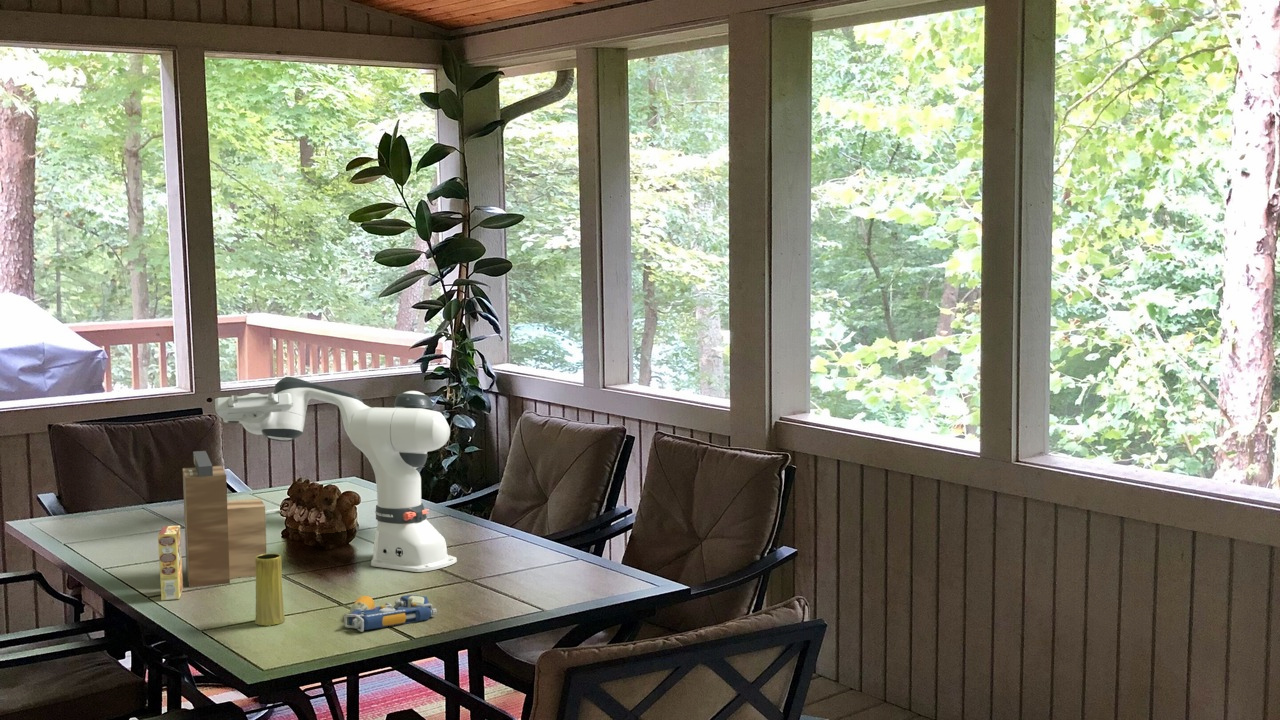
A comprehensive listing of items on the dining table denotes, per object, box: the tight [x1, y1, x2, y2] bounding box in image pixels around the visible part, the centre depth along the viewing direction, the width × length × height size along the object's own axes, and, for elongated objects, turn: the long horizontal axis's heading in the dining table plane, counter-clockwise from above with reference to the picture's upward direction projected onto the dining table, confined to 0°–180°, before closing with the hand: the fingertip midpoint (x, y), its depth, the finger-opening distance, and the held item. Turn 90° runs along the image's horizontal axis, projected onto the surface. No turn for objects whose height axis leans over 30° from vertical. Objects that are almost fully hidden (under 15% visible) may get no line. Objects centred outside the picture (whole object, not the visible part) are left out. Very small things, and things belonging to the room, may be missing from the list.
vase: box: [254, 552, 286, 627], centre depth 258 cm, size 6×6×14 cm
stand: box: [182, 465, 268, 588], centre depth 295 cm, size 14×18×26 cm
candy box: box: [157, 525, 184, 601], centre depth 278 cm, size 9×4×15 cm, turn 16°
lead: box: [192, 450, 213, 477], centre depth 296 cm, size 24×3×2 cm, turn 23°
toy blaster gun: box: [343, 594, 438, 633], centre depth 261 cm, size 21×4×15 cm
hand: (252, 396), depth 330 cm, fingers open, 8 cm apart
